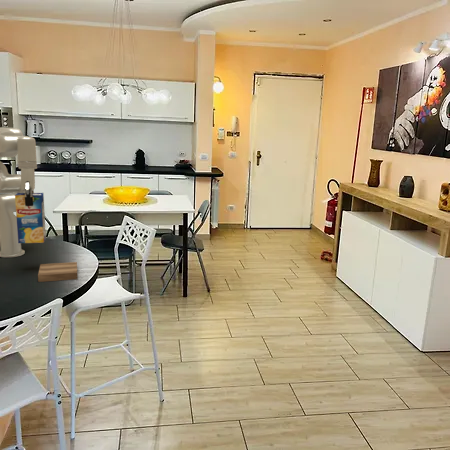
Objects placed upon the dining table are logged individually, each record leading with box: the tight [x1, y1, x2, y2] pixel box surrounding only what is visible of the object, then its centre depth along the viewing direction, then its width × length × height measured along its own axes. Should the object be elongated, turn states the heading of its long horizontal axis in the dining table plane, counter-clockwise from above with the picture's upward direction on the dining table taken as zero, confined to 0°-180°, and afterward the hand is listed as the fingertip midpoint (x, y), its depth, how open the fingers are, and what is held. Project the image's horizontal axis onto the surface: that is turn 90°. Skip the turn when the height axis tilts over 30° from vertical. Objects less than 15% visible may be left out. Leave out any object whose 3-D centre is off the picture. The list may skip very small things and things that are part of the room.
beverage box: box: [15, 192, 47, 244], centre depth 200 cm, size 7×11×22 cm, turn 104°
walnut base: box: [37, 261, 78, 283], centre depth 199 cm, size 16×16×3 cm
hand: (30, 204), depth 199 cm, fingers closed on beverage box, 7 cm apart
